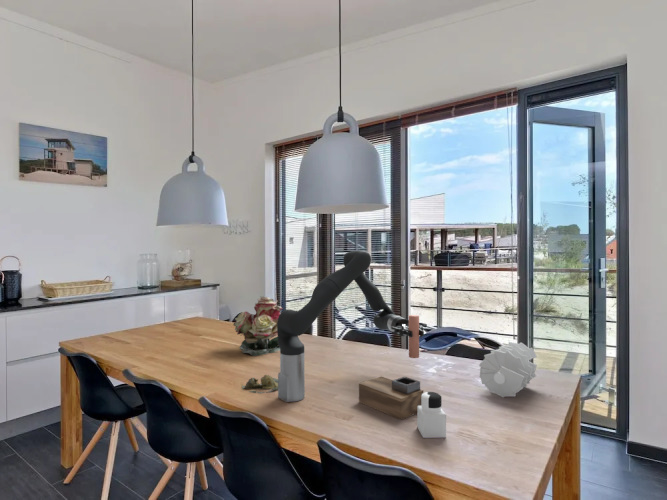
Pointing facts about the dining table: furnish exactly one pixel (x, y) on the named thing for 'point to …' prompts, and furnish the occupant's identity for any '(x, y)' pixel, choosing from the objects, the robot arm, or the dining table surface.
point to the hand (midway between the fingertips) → (417, 334)
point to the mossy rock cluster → (262, 384)
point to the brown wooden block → (392, 396)
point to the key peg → (414, 336)
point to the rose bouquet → (259, 327)
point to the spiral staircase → (508, 369)
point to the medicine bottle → (431, 416)
